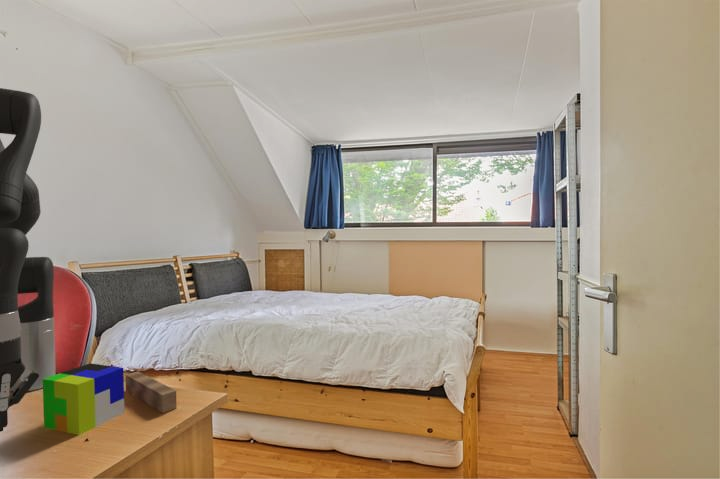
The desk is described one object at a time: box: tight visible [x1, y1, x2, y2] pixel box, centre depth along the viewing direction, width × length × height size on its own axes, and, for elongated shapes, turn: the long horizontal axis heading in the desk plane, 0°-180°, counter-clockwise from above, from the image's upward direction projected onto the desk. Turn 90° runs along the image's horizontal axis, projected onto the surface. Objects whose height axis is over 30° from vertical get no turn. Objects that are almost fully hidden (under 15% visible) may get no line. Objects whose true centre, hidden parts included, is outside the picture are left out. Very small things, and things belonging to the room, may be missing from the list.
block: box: [124, 371, 178, 414], centre depth 95 cm, size 20×3×4 cm, turn 51°
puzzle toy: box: [42, 362, 125, 436], centre depth 84 cm, size 10×10×10 cm
